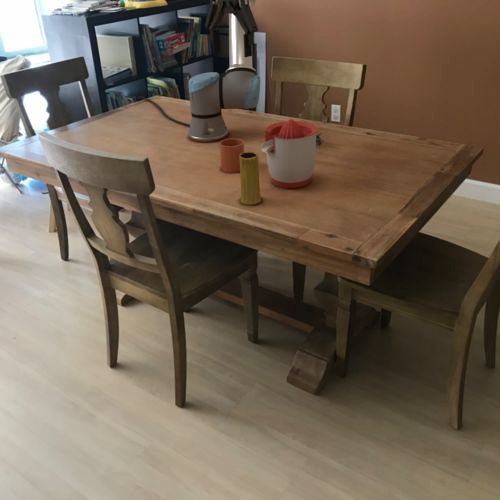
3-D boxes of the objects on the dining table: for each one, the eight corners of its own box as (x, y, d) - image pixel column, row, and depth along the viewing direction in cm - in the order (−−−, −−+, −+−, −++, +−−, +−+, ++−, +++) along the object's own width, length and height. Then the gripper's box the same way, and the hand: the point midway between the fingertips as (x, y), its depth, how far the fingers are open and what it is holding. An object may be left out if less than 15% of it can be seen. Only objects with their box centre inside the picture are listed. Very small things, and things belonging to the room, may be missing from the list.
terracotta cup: (216, 169, 173) (214, 143, 169) (232, 161, 178) (231, 136, 174) (234, 174, 169) (232, 148, 164) (250, 166, 174) (248, 141, 169)
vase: (238, 204, 150) (235, 158, 143) (242, 195, 155) (239, 150, 148) (259, 205, 149) (257, 159, 142) (262, 196, 154) (260, 151, 147)
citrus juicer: (253, 178, 166) (250, 117, 155) (301, 167, 171) (301, 108, 161) (274, 197, 153) (273, 132, 143) (325, 185, 159) (327, 121, 148)
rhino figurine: (318, 150, 184) (319, 134, 181) (293, 140, 193) (293, 125, 190) (327, 147, 186) (327, 131, 183) (301, 138, 195) (301, 122, 192)
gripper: (189, -21, 157) (196, 52, 168) (251, -20, 142) (254, 60, 154) (207, -23, 161) (212, 48, 173) (268, -22, 147) (270, 56, 158)
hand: (232, 54), depth 163 cm, fingers open, 13 cm apart
